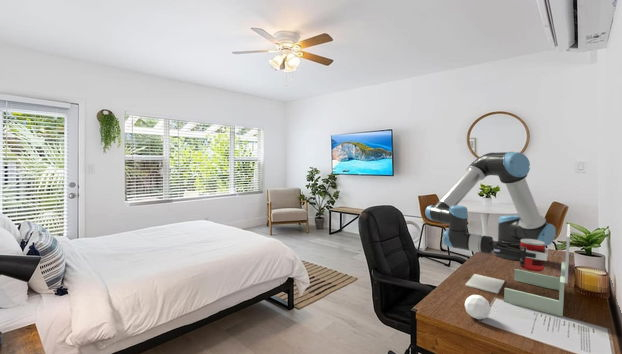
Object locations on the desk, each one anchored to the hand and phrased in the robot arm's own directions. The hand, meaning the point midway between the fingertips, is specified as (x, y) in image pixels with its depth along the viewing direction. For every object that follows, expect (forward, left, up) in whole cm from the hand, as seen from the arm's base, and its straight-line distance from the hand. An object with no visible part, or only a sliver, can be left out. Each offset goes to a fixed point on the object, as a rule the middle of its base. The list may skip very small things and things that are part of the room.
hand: (547, 254), depth 117 cm
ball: (+34, -17, -18) cm, 42 cm away
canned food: (0, -5, -7) cm, 8 cm away
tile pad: (0, -21, -17) cm, 27 cm away
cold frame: (0, -4, -17) cm, 18 cm away
